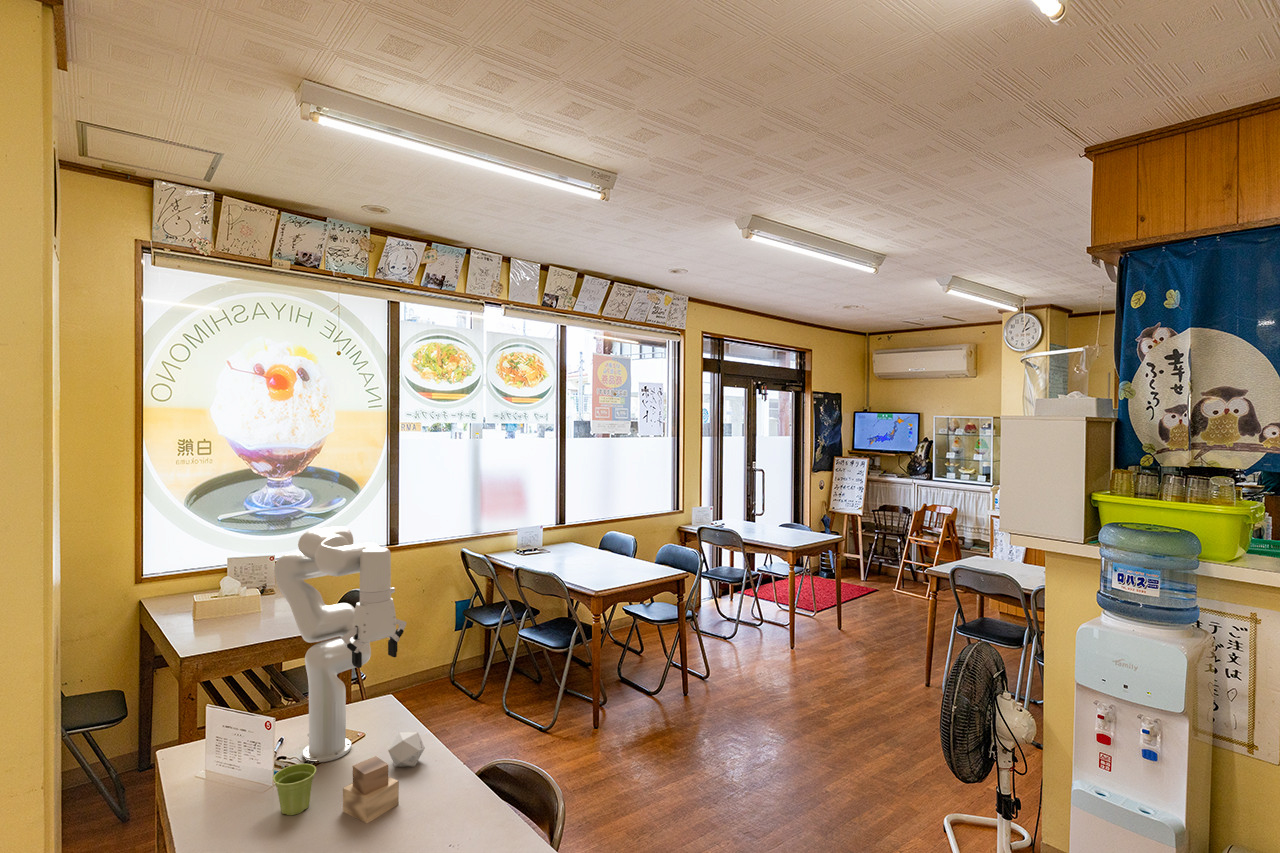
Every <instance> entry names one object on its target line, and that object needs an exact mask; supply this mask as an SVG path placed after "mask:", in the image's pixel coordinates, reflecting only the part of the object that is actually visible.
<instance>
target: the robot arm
mask: <svg viewBox="0 0 1280 853" xmlns="http://www.w3.org/2000/svg"><path fill="white" fill-rule="evenodd" d="M297 545H298V546H297V547H298V550H299V551H295V552H290V553H287V554H284V555H283V556H281V557H279V558H278V559H277V560H276V562H275V564H274V566H273V567H274V570H273V571H274V572H273V573H274V579H275V583H276V586H277V588H278V590H279V591H280V593H281V595H282V596H283V598H284V599H285V601H286V602H287V603H288V605H289V607H290V609H291V612H292V614H293V617H294V620H295V623H296V627H297V628H298V631H299V634H300V637H302V639H303V641H305V642H306V643H309V644H310V643H316V644H314V645H312V646H311V647H310V648H308V650H307V651H306V653H305V656H304V664H305V669H306V670H305V671H306V674H307V681H308V734H307V738H308V745H307V746H305V747H304V748H303V750H302V758H303V757H305V758H306V759H310V760H317V761H319V762H318V763H326V762H330V761H335V760H338V759H340V758H342V757H343V756H345V755H347V754H348V753H349V752H350V751H351V749H352V741H351V740H350V739H349V738H346V737H347V736H346V733H347V732H346V730H347V729H346V728H347V727H346V724H347V723H346V716H347V715H346V714H347V712H346V710H347V709H346V708H347V707H346V705H347V704H346V703H347V702H346V701H347V697H346V695H347V694H346V693H347V692H346V685H345V683H344V682H343V681H342V679H340V678H339V677H338V675H339V674H340V673H343V672H345V671H348V670H351V669H355V668H358V669H361V668H362V667H363V665H365V664H367V663H368V662H369V660H370V658H371V656H372V649H371V643H373V642H376V641H380V640H384V639H387V638H388V641H387V655H388V656H390V657H393V658H397V657H398V642H400V639H401V637H402V635H403V634H404V631H405V628H406V626H407V624H408V623H407V621H404V620H401V619H398V618H397V616H396V614H397V613H396V607H395V604H394V603H395V602H394V599H393V598H392V594H394V593H395V592H396V588H395V587H391V586H392V557H391V556H392V554H391V550H390V549H389V548H387V547H384V546H380V545H379V544H377V543H376V542H371V541H370V542H364V543H355V544H354V537H353V533H352V532H351V530H350V529H349V528H348V527H346V526H344V525H343V526H341V525H338V526H329V527H321V528H314V529H310V530H307V531H306V532H305V533H303V534H302V535H301V536H300V537H299V540H298V544H297ZM352 574H353V575H354V574H359V601H358V602H356V604H355V607H354V606H353V605H352V604H350V603H348V602H340V603H339V602H338V603H335V604H330V605H329V604H327V603H325V602H324V599H323V597H322V594H321V593H320V591H319V590H318V589H316V587H314V586H313V585H312V584H310V583H308V582H306V581H305V580H309V579H314V578H320V577H326V576H330V577H331V576H332V577H342V576H347V575H352ZM397 625H398V627H397Z"/></svg>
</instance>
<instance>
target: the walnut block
mask: <svg viewBox="0 0 1280 853" xmlns="http://www.w3.org/2000/svg"><path fill="white" fill-rule="evenodd" d="M388 777H389V764H388V763H387V761H384V760H383V759H382V758H380V757H378V756H377V755H375V756H373V757H370V758H368V759H365V760H363V761H361V762H357V763H356V764H352V783H353V787H355V788H356V789H357V790H359V791H360V792H361V793H363V794H364V795H366V794H369V793H371V792H373V791H375V790H377V789H380V788H382V787H384V786H386V785H388Z"/></svg>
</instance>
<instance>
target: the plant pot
mask: <svg viewBox="0 0 1280 853" xmlns="http://www.w3.org/2000/svg"><path fill="white" fill-rule="evenodd" d="M316 773H317V767H316V766H315V765H313V764H312V763H311V764H310V763H297V764H293V765H288V766H286V767H284V768H282V769H280V770H279V771H277V772H276V773H275V774H274V775H273V777H272V780H273V783H274V784H275V787H276V790H277V796H278V800H279V806H280V812H281V813H282V815H283V814H284V815H287V816H293V815H294V816H295V815H298V814H301V813H302V812H304V810H307V809H308V808H309V806H310V802H311V794H312V787H313V786H312V785H313V780H314V778H315V774H316Z"/></svg>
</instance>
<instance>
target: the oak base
mask: <svg viewBox="0 0 1280 853" xmlns="http://www.w3.org/2000/svg"><path fill="white" fill-rule="evenodd" d="M399 784H400V783H399V780H397V779H395V778H393V777H391V776H388V785H386V786H384V787H382V788H380V789H377V790H375V791H373V792H371V793H369V794H366V795H364V794H363V793H361V792H360V791H359V790H357V789H356V788H355V787H353V782H351V783H350V784H348V785H346V786H344V787H342V812H343V813H345V814H347V815H350V816H351V817H353V818H355V819H357V820H360V821H362V822H363V823H366V824H369V823H370V822H372V821H373V820H375V819H377V818H379V817H380V816H382V815H383V814H386V813H387V812H388V811H390V810H392V809H393V808H395V807H397V806H398V805H399V798H400V797H399V793H400V792H399V790H400V789H399V788H400V787H399Z"/></svg>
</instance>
